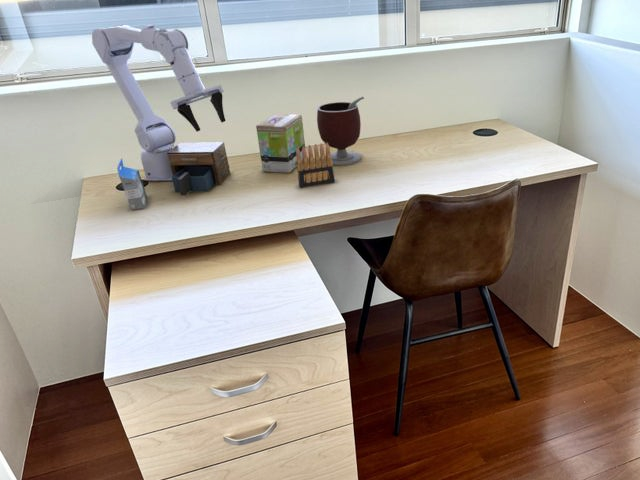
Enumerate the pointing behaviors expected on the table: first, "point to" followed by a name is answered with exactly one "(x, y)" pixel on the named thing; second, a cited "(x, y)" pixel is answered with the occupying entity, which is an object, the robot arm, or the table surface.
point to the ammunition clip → (315, 167)
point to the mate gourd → (340, 129)
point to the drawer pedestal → (201, 158)
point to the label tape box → (132, 186)
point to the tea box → (280, 142)
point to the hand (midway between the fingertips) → (211, 126)
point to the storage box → (193, 179)
